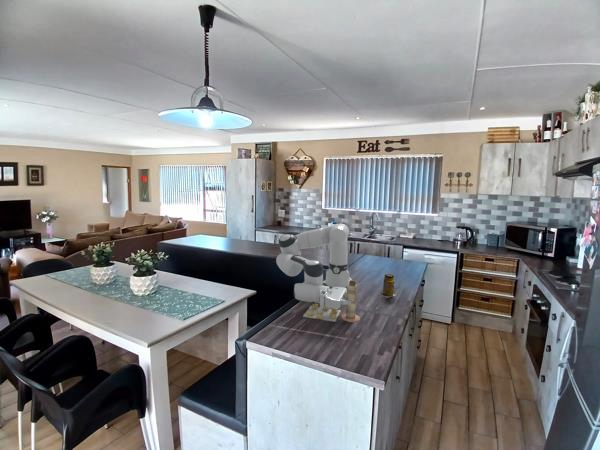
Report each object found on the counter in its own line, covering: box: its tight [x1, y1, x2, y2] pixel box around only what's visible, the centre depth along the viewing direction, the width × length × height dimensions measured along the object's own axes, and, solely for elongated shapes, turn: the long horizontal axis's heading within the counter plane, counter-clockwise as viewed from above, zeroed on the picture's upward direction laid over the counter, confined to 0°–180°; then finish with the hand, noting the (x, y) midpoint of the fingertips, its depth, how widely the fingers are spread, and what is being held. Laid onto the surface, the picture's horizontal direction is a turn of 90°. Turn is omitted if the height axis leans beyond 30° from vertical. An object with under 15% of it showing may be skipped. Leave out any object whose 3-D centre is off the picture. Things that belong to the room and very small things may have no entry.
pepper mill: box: [345, 279, 358, 319], centre depth 150 cm, size 5×5×19 cm
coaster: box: [340, 313, 361, 323], centre depth 152 cm, size 9×9×1 cm
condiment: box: [377, 273, 397, 299], centre depth 185 cm, size 7×8×12 cm
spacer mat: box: [302, 303, 341, 323], centre depth 156 cm, size 14×16×3 cm
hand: (353, 299), depth 150 cm, fingers open, 8 cm apart
